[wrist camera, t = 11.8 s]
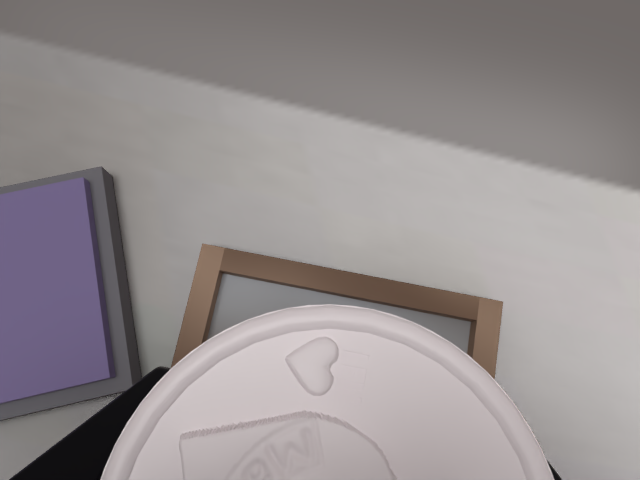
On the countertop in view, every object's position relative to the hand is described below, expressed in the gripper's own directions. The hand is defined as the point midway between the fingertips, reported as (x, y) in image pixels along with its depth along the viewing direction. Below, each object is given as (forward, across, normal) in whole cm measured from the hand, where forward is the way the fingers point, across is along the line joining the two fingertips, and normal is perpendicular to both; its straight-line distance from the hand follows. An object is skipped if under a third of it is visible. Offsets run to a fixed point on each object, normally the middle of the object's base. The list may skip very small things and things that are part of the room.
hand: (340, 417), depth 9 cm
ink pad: (+7, +12, +5) cm, 15 cm away
